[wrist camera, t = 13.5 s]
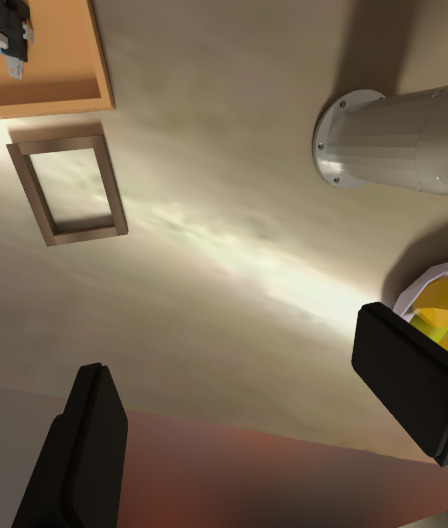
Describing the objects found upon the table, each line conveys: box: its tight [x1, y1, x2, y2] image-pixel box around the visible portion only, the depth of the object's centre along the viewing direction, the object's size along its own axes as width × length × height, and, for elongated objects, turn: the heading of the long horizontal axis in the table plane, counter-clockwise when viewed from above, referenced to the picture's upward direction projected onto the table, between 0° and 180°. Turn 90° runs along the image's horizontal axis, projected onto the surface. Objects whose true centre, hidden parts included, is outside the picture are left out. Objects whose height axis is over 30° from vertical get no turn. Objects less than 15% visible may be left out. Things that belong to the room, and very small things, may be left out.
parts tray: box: [0, 0, 116, 119], centre depth 26 cm, size 16×13×3 cm
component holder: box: [6, 135, 128, 247], centre depth 33 cm, size 10×12×2 cm
